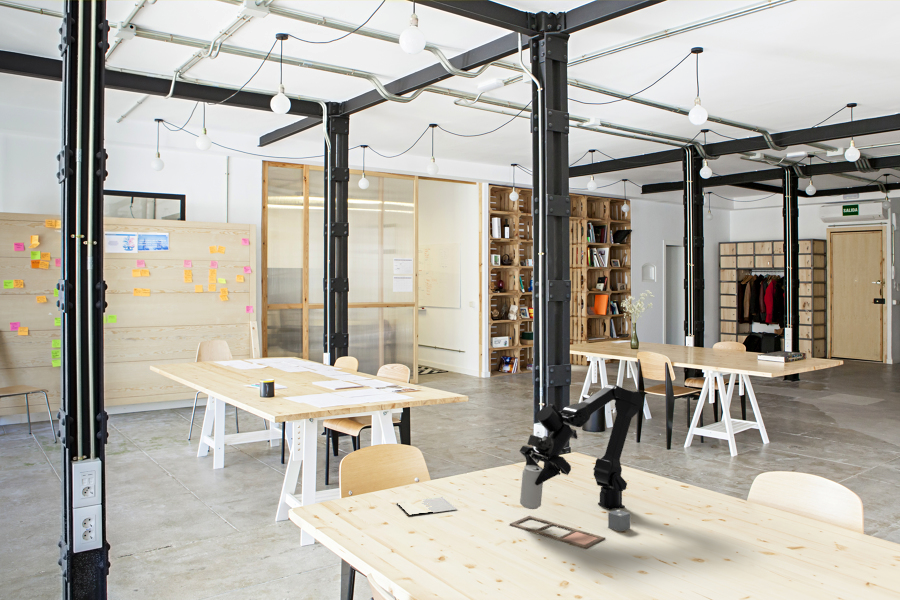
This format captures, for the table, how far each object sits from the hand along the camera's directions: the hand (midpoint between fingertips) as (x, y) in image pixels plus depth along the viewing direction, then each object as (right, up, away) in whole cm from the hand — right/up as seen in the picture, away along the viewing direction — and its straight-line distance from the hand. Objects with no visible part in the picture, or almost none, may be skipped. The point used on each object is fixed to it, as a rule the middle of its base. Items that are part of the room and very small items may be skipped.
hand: (529, 482), depth 196 cm
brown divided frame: (+7, -13, -5) cm, 16 cm away
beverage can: (0, -8, +2) cm, 8 cm away
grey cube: (+27, -13, -2) cm, 30 cm away
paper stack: (-34, -14, +12) cm, 39 cm away
